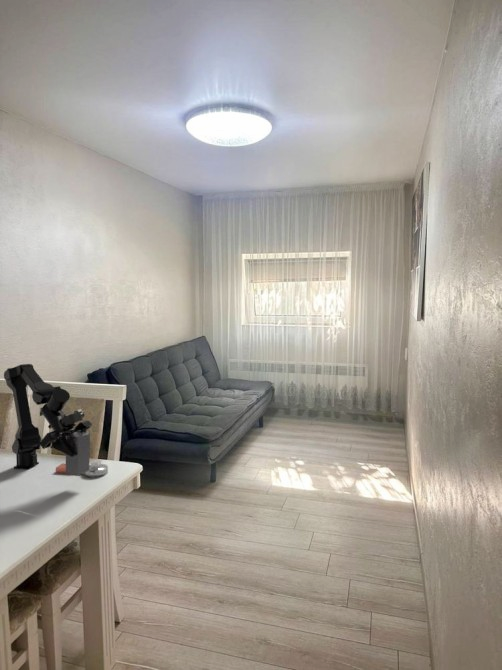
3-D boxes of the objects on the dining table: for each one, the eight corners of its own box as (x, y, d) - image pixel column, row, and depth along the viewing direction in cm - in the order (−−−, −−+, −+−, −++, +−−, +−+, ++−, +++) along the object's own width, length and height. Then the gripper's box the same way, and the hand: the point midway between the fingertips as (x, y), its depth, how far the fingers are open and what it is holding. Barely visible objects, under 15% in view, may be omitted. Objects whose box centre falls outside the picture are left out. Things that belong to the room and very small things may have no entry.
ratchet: (111, 469, 168) (111, 458, 167) (101, 478, 160) (101, 466, 159) (65, 466, 170) (65, 455, 170) (52, 474, 162) (52, 462, 162)
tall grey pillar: (65, 472, 150) (66, 435, 149) (77, 467, 155) (78, 431, 154) (77, 475, 148) (78, 437, 147) (89, 470, 152) (90, 433, 152)
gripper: (45, 409, 142) (72, 447, 139) (87, 398, 159) (112, 431, 156) (28, 430, 146) (54, 467, 142) (71, 416, 163) (95, 450, 159)
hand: (80, 453), depth 150 cm, fingers closed on tall grey pillar, 6 cm apart
